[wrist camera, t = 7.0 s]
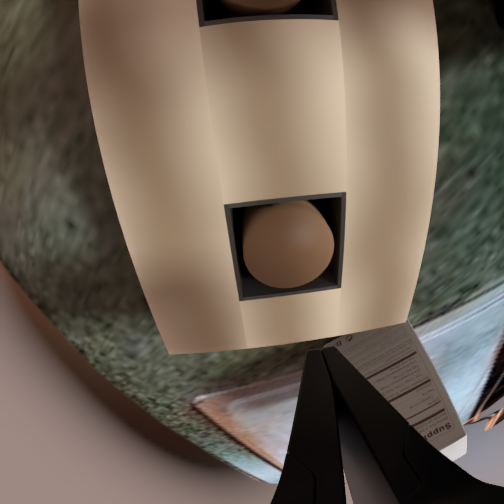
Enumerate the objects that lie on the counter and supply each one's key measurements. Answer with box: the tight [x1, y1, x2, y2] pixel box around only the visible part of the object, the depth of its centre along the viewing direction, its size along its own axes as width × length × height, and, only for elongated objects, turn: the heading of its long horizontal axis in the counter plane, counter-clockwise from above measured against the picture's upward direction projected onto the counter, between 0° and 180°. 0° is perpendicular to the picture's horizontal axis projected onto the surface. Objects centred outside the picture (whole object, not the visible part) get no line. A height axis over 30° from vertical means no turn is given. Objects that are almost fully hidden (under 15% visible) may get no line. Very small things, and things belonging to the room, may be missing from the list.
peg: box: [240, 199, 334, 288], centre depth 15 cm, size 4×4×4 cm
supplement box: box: [323, 319, 467, 461], centre depth 20 cm, size 7×7×13 cm
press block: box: [78, 0, 440, 354], centre depth 12 cm, size 14×24×5 cm, turn 6°
